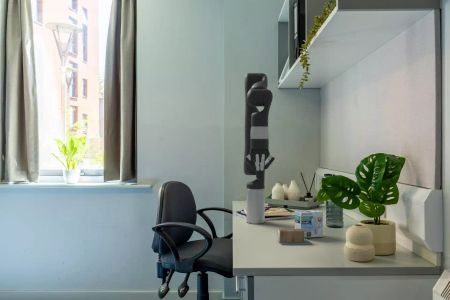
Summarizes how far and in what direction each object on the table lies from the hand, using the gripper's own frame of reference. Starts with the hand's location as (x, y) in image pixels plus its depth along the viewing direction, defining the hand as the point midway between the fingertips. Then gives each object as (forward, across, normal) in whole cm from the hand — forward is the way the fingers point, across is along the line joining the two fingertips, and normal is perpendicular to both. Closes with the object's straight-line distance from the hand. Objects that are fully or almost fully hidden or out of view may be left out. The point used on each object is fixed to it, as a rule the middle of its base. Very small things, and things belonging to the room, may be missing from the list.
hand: (259, 179), depth 167 cm
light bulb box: (+25, -22, -4) cm, 34 cm away
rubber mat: (+25, -14, +5) cm, 29 cm away
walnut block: (+22, -7, +5) cm, 24 cm away
